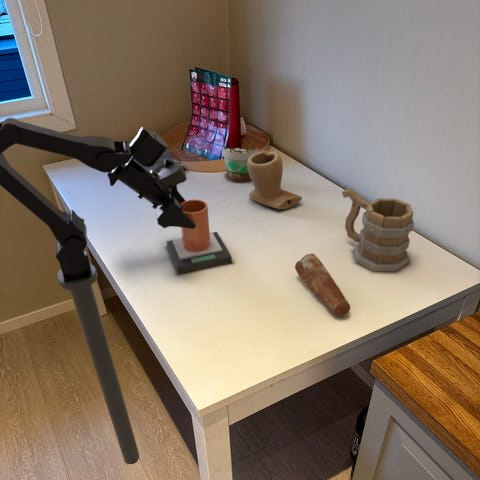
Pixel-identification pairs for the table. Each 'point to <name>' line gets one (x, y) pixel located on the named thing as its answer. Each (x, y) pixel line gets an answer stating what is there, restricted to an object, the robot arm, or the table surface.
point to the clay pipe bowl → (269, 181)
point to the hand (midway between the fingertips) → (192, 218)
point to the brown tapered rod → (322, 284)
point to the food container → (237, 163)
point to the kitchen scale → (199, 255)
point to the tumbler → (200, 234)
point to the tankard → (380, 232)
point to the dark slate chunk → (161, 162)
